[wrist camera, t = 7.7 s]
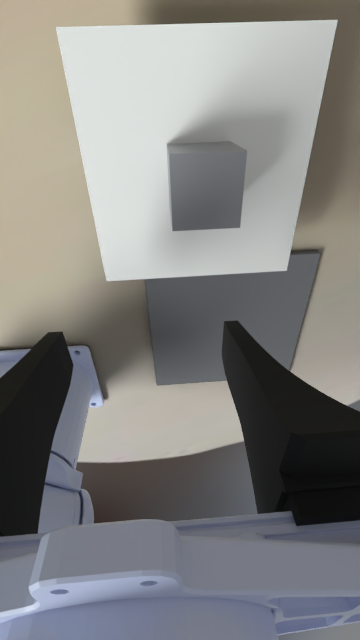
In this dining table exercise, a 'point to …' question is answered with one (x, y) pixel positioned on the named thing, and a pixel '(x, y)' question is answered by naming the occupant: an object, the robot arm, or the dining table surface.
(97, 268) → the dining table surface
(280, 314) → the mat
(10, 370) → the robot arm
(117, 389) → the dining table surface
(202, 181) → the lid
